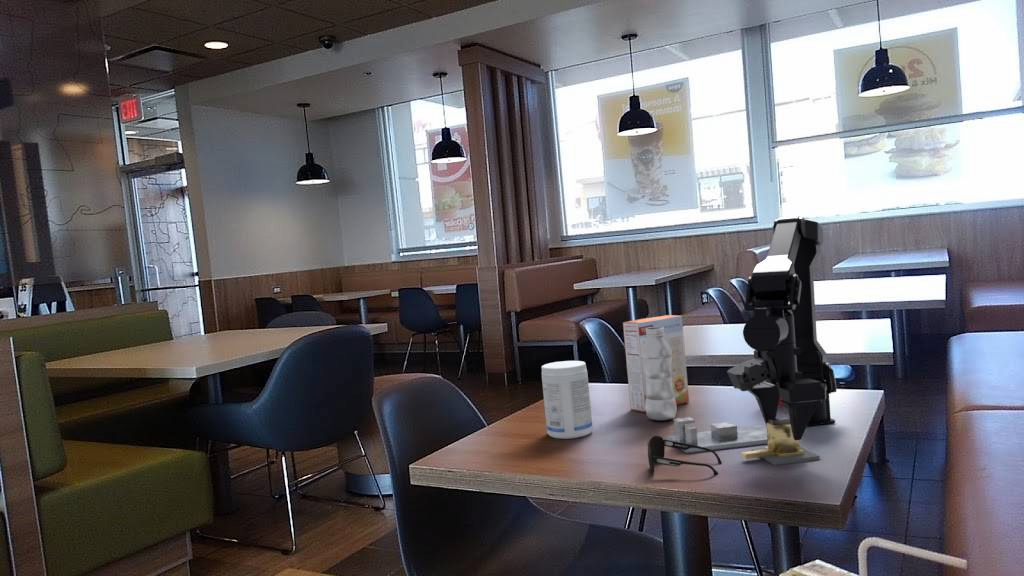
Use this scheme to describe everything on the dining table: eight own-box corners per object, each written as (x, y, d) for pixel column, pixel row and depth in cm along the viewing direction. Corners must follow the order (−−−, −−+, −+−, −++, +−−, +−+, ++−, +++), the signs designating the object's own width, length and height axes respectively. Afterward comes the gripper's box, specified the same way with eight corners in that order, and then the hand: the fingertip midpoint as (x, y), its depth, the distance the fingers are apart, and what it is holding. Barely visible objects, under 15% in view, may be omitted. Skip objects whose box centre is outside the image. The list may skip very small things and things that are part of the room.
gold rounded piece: (789, 446, 124) (787, 414, 124) (807, 454, 119) (804, 420, 119) (736, 454, 122) (733, 420, 122) (751, 462, 117) (749, 427, 117)
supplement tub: (589, 426, 153) (584, 358, 152) (596, 437, 143) (590, 365, 143) (544, 430, 152) (539, 362, 152) (548, 441, 143) (542, 369, 142)
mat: (794, 447, 125) (794, 444, 125) (819, 459, 118) (819, 455, 117) (751, 452, 124) (751, 449, 124) (774, 465, 117) (774, 461, 116)
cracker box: (671, 399, 173) (665, 314, 172) (690, 402, 168) (683, 315, 167) (628, 410, 166) (621, 321, 165) (646, 413, 161) (639, 321, 160)
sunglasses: (653, 458, 127) (655, 430, 126) (722, 469, 122) (724, 440, 122) (640, 476, 117) (642, 446, 116) (715, 489, 112) (717, 458, 112)
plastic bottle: (678, 422, 150) (671, 328, 149) (645, 423, 151) (638, 330, 150) (677, 415, 156) (670, 325, 155) (646, 416, 157) (639, 327, 157)
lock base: (760, 429, 139) (758, 404, 139) (785, 441, 129) (784, 415, 129) (667, 439, 137) (665, 414, 137) (686, 453, 127) (684, 426, 127)
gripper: (709, 341, 128) (715, 426, 129) (758, 353, 110) (764, 453, 111) (767, 335, 130) (773, 419, 130) (825, 346, 111) (831, 445, 112)
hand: (783, 433), depth 121 cm, fingers open, 9 cm apart
